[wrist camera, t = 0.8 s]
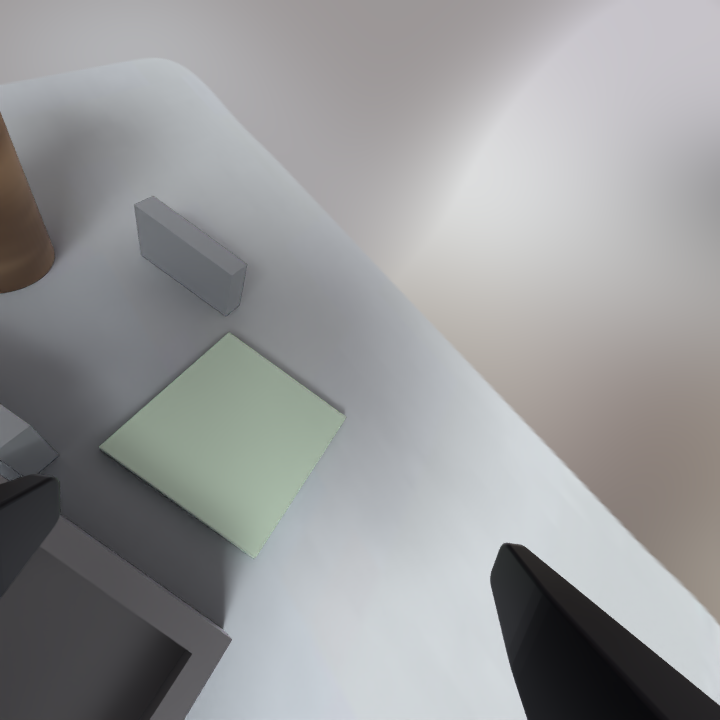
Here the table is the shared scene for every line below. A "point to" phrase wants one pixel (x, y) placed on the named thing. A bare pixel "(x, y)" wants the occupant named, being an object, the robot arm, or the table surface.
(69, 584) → the gray open box
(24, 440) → the channel
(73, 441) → the table surface
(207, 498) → the pad
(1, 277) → the walnut post
